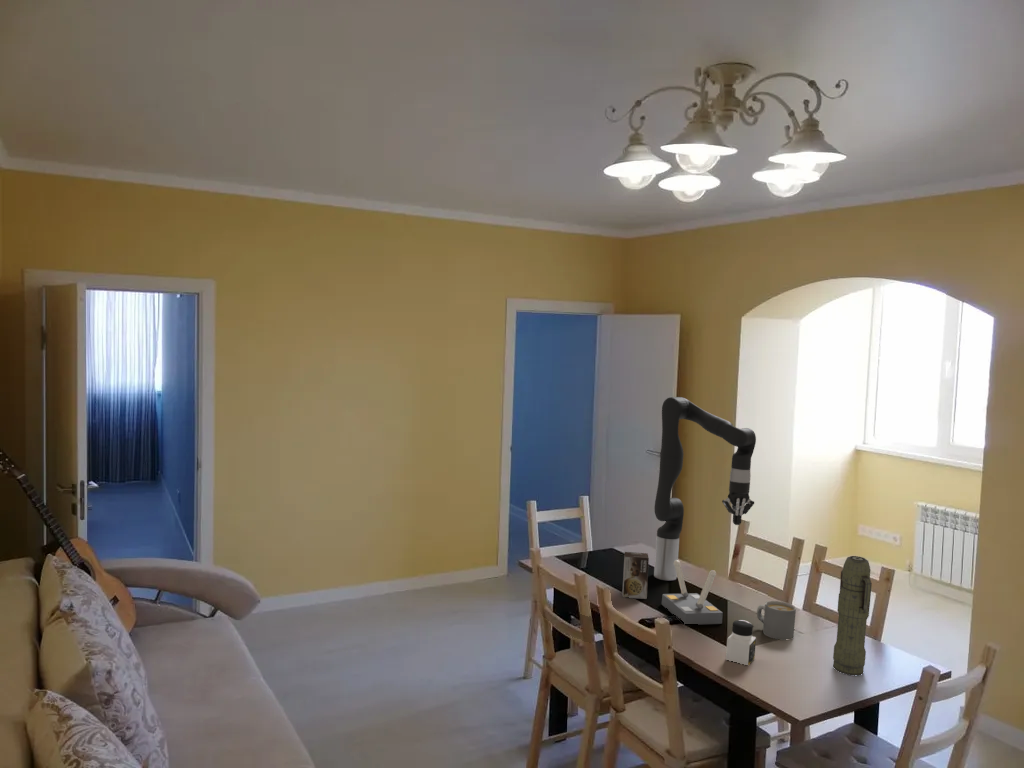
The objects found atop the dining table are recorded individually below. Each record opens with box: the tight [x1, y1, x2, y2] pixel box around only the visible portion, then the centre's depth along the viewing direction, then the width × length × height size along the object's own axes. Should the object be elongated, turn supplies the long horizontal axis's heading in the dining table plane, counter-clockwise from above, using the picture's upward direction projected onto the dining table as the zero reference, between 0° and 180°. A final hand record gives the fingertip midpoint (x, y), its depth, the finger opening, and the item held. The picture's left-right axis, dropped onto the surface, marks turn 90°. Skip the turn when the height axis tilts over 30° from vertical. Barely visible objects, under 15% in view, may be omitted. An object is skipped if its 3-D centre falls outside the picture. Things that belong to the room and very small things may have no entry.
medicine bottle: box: [725, 619, 757, 667], centre depth 241 cm, size 7×7×12 cm
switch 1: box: [674, 559, 688, 598], centre depth 284 cm, size 2×2×14 cm
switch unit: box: [661, 592, 724, 625], centre depth 280 cm, size 20×14×4 cm
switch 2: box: [696, 569, 717, 609], centre depth 274 cm, size 2×2×14 cm
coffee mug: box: [756, 600, 797, 641], centre depth 266 cm, size 13×10×10 cm
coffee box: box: [621, 551, 650, 600], centre depth 296 cm, size 9×6×16 cm
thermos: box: [832, 555, 873, 677], centre depth 237 cm, size 9×12×35 cm
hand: (736, 524), depth 298 cm, fingers closed
